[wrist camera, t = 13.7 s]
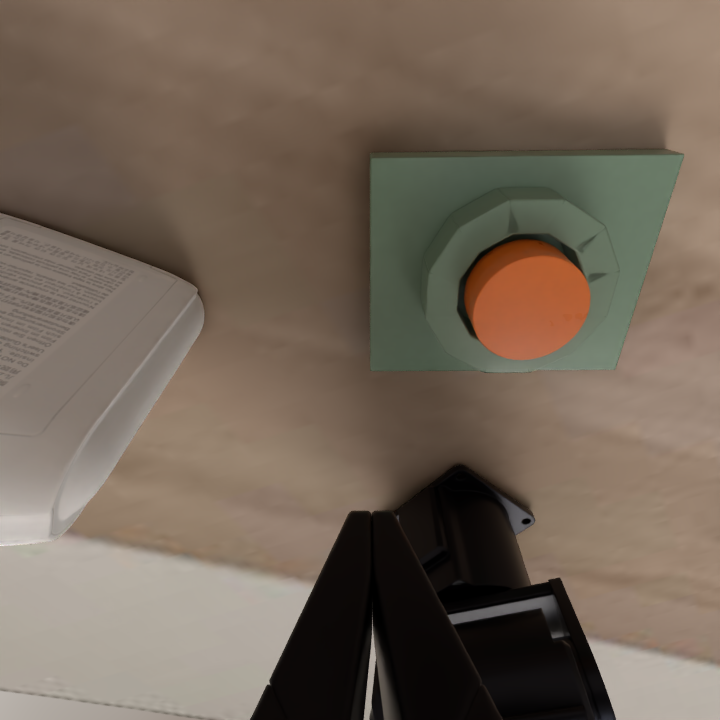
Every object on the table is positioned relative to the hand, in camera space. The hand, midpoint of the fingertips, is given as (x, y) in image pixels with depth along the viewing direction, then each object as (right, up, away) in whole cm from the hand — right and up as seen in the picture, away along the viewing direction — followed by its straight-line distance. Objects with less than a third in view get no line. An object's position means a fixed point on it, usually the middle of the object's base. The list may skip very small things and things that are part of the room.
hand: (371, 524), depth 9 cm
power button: (+6, +6, +9) cm, 12 cm away
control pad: (+6, +7, +11) cm, 14 cm away
